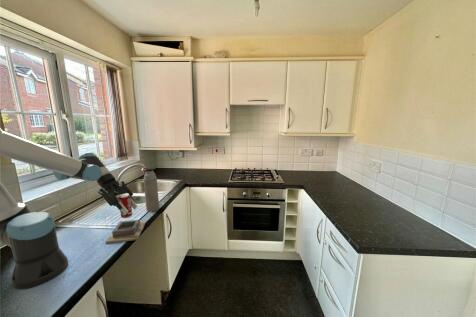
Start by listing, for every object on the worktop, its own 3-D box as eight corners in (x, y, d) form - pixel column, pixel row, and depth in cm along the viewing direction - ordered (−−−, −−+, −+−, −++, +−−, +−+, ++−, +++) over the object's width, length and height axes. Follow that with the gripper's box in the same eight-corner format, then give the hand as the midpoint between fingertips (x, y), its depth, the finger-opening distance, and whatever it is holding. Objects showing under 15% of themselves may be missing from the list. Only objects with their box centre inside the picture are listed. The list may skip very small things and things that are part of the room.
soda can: (130, 212, 103) (127, 192, 101) (134, 215, 100) (131, 194, 97) (119, 216, 99) (116, 195, 97) (123, 219, 96) (120, 197, 93)
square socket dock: (137, 239, 94) (136, 232, 93) (105, 243, 91) (104, 235, 91) (145, 223, 110) (144, 216, 109) (119, 226, 107) (118, 219, 106)
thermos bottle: (151, 205, 132) (148, 167, 127) (161, 206, 131) (158, 168, 126) (143, 211, 125) (139, 170, 119) (154, 212, 123) (150, 171, 118)
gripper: (116, 176, 109) (141, 206, 107) (82, 187, 92) (112, 223, 90) (122, 168, 106) (148, 199, 105) (88, 177, 89) (119, 214, 88)
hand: (131, 210), depth 98 cm, fingers closed on soda can, 5 cm apart
